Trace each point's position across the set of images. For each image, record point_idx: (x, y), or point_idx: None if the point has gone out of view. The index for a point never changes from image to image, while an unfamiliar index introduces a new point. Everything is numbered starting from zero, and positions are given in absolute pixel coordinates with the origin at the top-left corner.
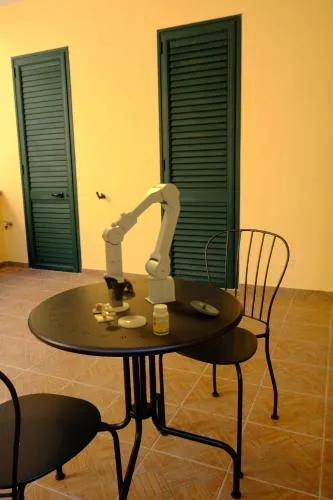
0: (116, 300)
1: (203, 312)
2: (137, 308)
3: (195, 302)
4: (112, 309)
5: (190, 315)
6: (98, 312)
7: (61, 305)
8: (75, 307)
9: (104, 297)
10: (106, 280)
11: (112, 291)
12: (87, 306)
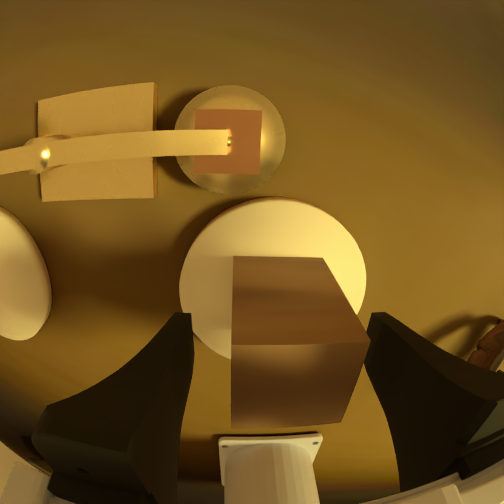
0: (174, 313)
1: (31, 458)
2: (201, 378)
3: None
4: (195, 244)
5: None
6: (177, 120)
7: (498, 24)
8: (444, 54)
9: (491, 280)
10: (460, 395)
11: (234, 353)
12: (428, 124)
